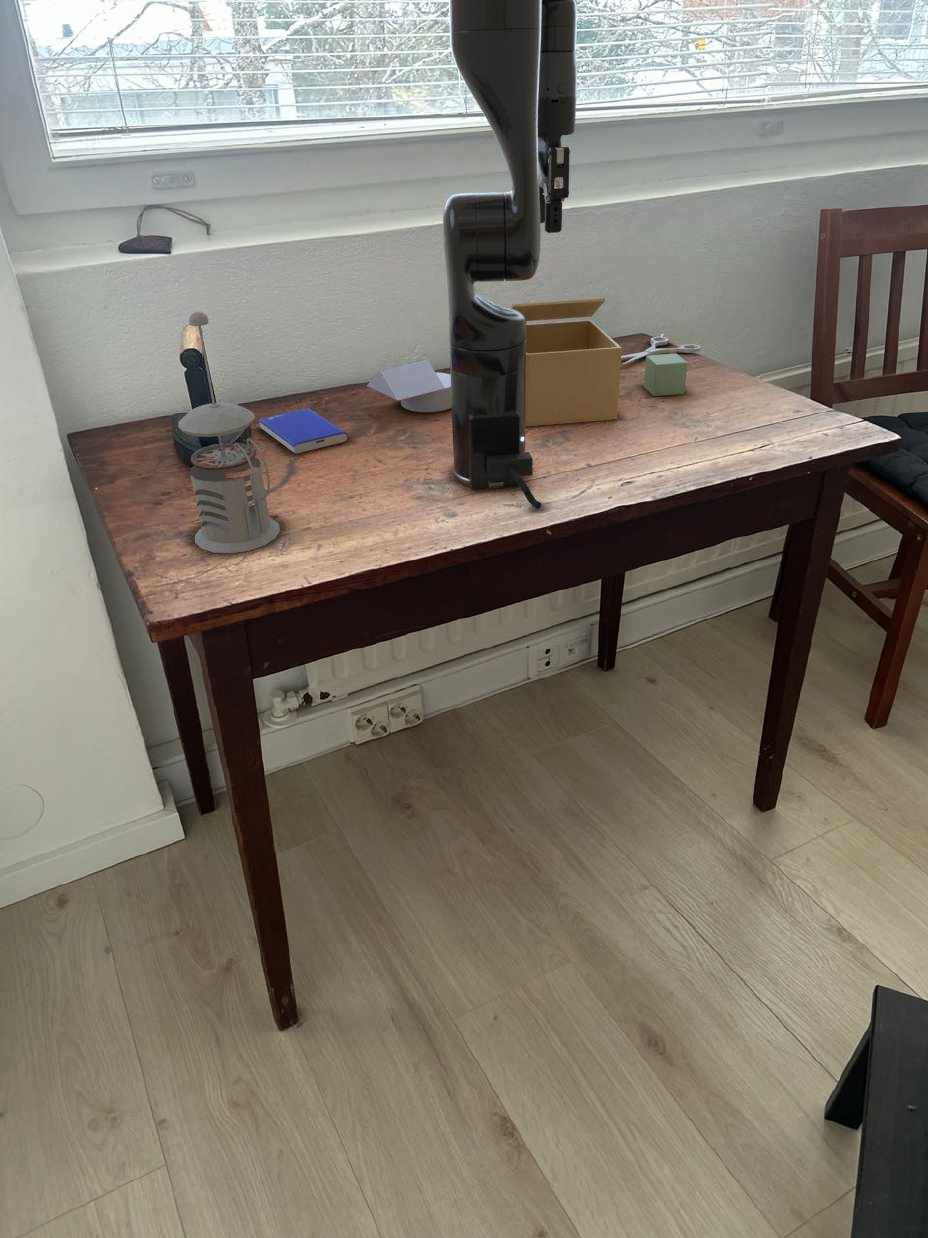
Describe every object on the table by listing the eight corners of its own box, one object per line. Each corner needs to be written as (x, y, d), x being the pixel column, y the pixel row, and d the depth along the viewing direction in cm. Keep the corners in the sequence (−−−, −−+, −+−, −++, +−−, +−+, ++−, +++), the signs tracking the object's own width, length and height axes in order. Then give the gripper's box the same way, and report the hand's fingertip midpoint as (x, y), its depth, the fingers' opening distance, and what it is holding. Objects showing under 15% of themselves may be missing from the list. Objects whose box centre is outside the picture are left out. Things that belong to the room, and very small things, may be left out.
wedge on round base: (399, 422, 133) (469, 403, 139) (395, 377, 130) (468, 360, 136) (368, 406, 139) (437, 389, 146) (364, 363, 136) (435, 347, 142)
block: (684, 393, 140) (687, 362, 138) (653, 396, 140) (656, 364, 137) (673, 384, 145) (676, 353, 142) (643, 386, 144) (646, 355, 141)
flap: (503, 322, 137) (503, 320, 137) (591, 316, 139) (591, 314, 139) (512, 306, 130) (512, 304, 130) (605, 300, 131) (605, 297, 131)
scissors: (709, 344, 160) (634, 367, 149) (708, 348, 160) (634, 372, 150) (662, 333, 167) (588, 354, 156) (662, 337, 167) (588, 359, 157)
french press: (246, 507, 110) (209, 296, 96) (307, 534, 103) (277, 311, 89) (177, 536, 103) (127, 315, 90) (238, 567, 97) (194, 333, 83)
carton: (503, 392, 144) (503, 325, 138) (588, 385, 145) (591, 319, 139) (524, 426, 130) (524, 354, 125) (617, 419, 132) (622, 347, 126)
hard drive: (258, 418, 132) (292, 443, 123) (309, 407, 135) (346, 430, 126) (260, 428, 132) (294, 454, 124) (310, 417, 136) (347, 441, 127)
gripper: (507, 93, 122) (507, 221, 130) (533, 95, 110) (531, 237, 119) (560, 91, 123) (557, 219, 132) (591, 93, 111) (585, 233, 120)
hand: (544, 227), depth 125 cm, fingers open, 8 cm apart
